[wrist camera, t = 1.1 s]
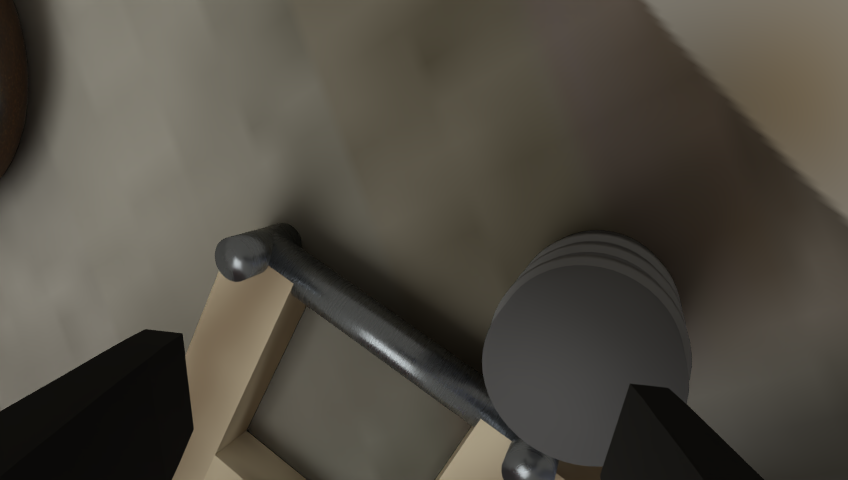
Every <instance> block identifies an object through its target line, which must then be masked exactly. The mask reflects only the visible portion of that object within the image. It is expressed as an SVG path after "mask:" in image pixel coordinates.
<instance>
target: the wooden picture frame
mask: <svg viewBox="0 0 848 480" xmlns="http://www.w3.org/2000/svg"><path fill="white" fill-rule="evenodd" d="M292 287H293V283H292V282H290V281H289V280H288V279H286V278H285V277H284V276H282V275H281V274H279V273H278V272H277V271H275V270H274V269H272V268H271V267H270V266H268V267H267V269H266V270H265V271H264V272H263V273H261V274H259V275H256V276H253V277H251V278H248V279H246V280H243V281H240V282H233V281H230V280H228V279H227V278H225V277H224V276H223V275H222V274H221V272H220V271H219V272H218V275H217V277H216V280H215V282H214V285H213V287H212V290H211V292H210V295H209V297H208V300H207V303H206V305H205V308H204V310H203V313H202V315H201V318H200V320H199V323H198V325H197V328H196V330H195V333H194V335H193V338H192V340H191V343H190V346H189V348H188V351H187V353H186V356H185V359H186V367H187V376H188V384H189V392H190V401H191V409H192V417H193V426H194V430H193V433H192V435H191V437H190V440H189V442H188V444H187V447H186V449H185V451H184V454H183V456H182V459H181V461H180V463H179V465H178V468H177V470H176V472H175V474H174V476H173V478H172V480H306V479H305V478H304V477H303V476H301V475H300V474H299V473H298V472H297V471H295V470H294V469H293V468H292V467H290V466H289V465H288V464H287V463H285V462H284V461H283V460H282V459H281V458H279V457H278V456H277V455H276V454H274V453H273V452H272V451H271V450H270V449H268V448H267V447H266V446H265V445H263V444H262V443H261V442H260V441H258V440H257V439H256V438H255V437H254V436H252V435H251V434H250V433H249V432H247V428H248V426H249V424H250V422H251V420H252V418H253V416H254V414H255V412H256V410H257V408H258V405H259V403H260V401H261V399H262V397H263V395H264V393H265V391H266V389H267V387H268V385H269V382H270V380H271V378H272V376H273V374H274V372H275V370H276V368H277V366H278V364H279V362H280V360H281V357H282V355H283V353H284V351H285V349H286V347H287V345H288V343H289V341H290V339H291V337H292V334H293V332H294V330H295V328H296V326H297V324H298V322H299V320H300V318H301V316H302V314H303V312H304V309H305V307H306V305H305V304H304V303H302V302H301V301H300V300H298V299H297V298H295V297H294V296H293V295H292V293H291V291H292ZM511 442H512V441H511V440H509V439H508V438H507V437H505V436H504V435H502V434H501V433H500V432H498V431H497V430H496V429H494V428H493V427H491V426H490V425H489V424H487V423H486V422H484V421H483V420H482V419H480V421H479V422H478V423H477V425H476V426H475V427H473V426H472V427H471V428H470V430H469V431H468V432H467V434H466V435H465V437H464V438H463V440H462V441H461V443H460V444H459V446H458V447H457V449H456V450H455V452H454V453H453V454H452V456H451V457H450V459H449V460H448V462H447V463H446V465H445V466H444V468H443V469H442V471H441V472H440V473H439V475H438V476H437V478H436V479H435V480H504V479H503V477H502V473H501V467H502V463H503V461H504V458H505V456H506V453H507V451H508V448H509V446H510V443H511ZM602 468H603V467H597V466H583V465H575V464H571V463H567V462H563V461H560V460H559V464H558V468H557V472H556V476H555V480H601V479H600V474H601V471H602Z"/></svg>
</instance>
